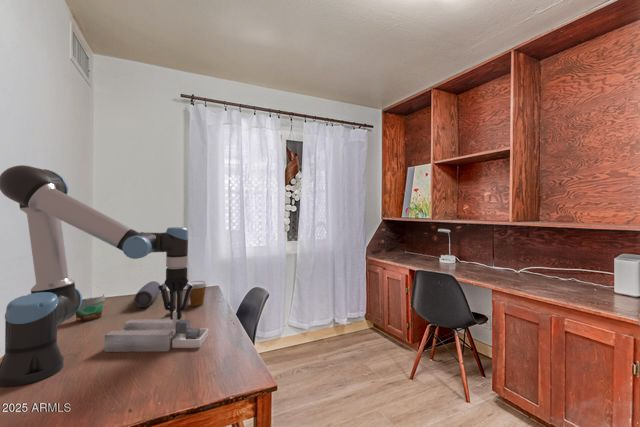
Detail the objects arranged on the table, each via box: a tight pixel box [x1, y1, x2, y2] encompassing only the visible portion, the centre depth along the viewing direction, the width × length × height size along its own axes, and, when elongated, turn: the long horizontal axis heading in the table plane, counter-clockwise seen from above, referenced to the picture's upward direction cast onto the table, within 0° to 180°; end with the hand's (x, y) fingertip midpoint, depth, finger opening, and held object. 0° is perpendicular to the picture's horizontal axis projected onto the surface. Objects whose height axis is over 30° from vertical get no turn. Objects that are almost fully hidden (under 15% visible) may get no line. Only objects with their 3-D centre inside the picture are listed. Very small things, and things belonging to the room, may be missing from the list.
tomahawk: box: [158, 312, 170, 319], centre depth 138 cm, size 21×7×1 cm, turn 166°
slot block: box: [104, 318, 186, 353], centre depth 117 cm, size 16×22×6 cm
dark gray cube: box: [175, 319, 191, 334], centre depth 118 cm, size 4×4×4 cm
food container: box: [75, 294, 106, 323], centre depth 140 cm, size 12×6×10 cm, turn 143°
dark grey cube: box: [186, 327, 201, 339], centre depth 118 cm, size 4×4×4 cm
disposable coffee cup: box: [189, 280, 208, 307], centre depth 166 cm, size 10×10×12 cm
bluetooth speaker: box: [134, 280, 161, 308], centre depth 167 cm, size 23×9×10 cm, turn 17°
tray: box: [171, 328, 210, 349], centre depth 119 cm, size 11×10×3 cm
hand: (175, 327), depth 118 cm, fingers closed
